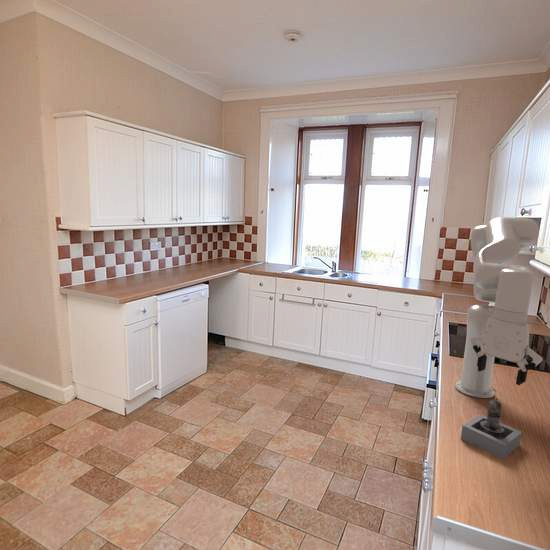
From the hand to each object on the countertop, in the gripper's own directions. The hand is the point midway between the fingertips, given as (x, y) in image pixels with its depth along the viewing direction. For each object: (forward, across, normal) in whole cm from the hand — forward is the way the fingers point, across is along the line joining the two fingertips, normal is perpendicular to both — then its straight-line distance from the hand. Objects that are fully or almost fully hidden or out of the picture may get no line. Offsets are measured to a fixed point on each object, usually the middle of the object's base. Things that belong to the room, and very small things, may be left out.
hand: (499, 376), depth 103 cm
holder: (+19, 0, -1) cm, 19 cm away
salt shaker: (+18, 0, -1) cm, 18 cm away
